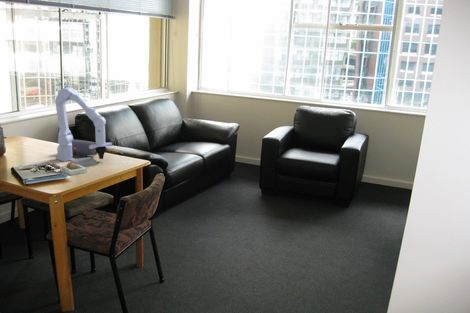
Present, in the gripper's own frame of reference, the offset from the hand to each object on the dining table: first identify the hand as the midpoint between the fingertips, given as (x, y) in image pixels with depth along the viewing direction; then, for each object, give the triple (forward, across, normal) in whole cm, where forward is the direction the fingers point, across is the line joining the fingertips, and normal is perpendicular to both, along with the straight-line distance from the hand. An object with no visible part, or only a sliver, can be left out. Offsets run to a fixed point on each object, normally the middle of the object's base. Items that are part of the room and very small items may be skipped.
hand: (101, 158), depth 278 cm
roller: (+1, -23, -10) cm, 25 cm away
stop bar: (+1, -30, 0) cm, 30 cm away
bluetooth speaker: (+2, -4, +20) cm, 20 cm away
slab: (+2, -12, 0) cm, 12 cm away
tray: (+2, -23, -10) cm, 25 cm away
